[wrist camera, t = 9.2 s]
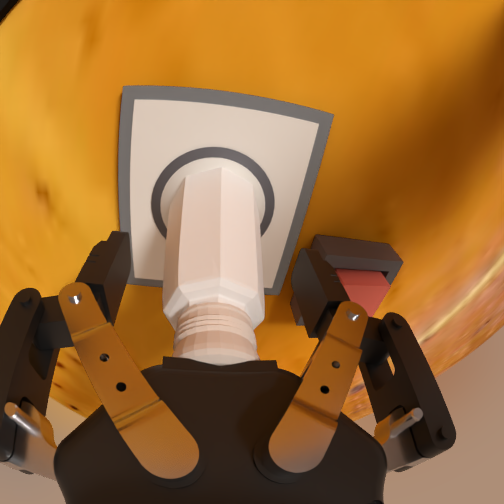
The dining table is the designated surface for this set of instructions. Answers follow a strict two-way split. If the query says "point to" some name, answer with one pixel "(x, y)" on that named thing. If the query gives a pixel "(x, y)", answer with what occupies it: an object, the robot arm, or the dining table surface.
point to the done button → (364, 287)
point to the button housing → (353, 259)
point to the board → (215, 166)
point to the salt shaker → (214, 269)
